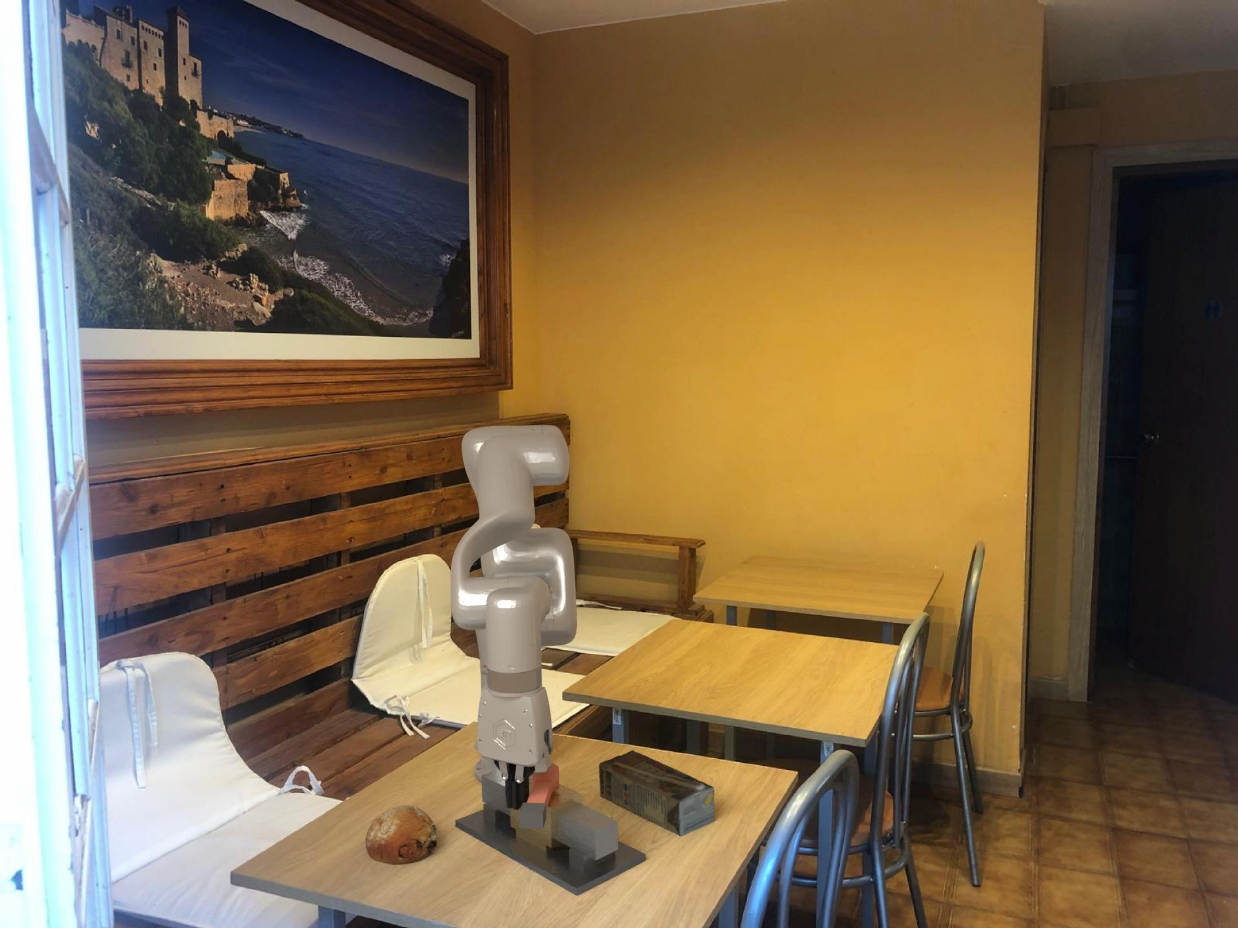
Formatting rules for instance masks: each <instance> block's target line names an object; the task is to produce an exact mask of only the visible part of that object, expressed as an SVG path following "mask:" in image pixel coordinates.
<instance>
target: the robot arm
mask: <svg viewBox="0 0 1238 928" xmlns="http://www.w3.org/2000/svg"><path fill="white" fill-rule="evenodd" d="M461 455H462V460H463V467H464V468H465V472H466V475H467V478H468V481H469V483H470V486H471V488H472V489H473V492H474V494H475V497H476V501H477V504H478V513H479V514H478V515H479V518H478V520H477V521H476V522H475V523H474V524H473V525H471V527H469V528H468V530H467V531H466V532H465V533H464V535H463V536H462V538H460V540H459V542H458V544H457V546H456V547H455V550H454V552H453V556H452V559H451V564H450V611H451V615H452V619H453V621H454V623H455V624H456V626H458V627H459V628H461V629H462V630H468V631H475V636H476V641H477V648H478V655H479V656H478V657H479V667H480V698H479V703H478V709H477V710H478V713H477V724H476V727H477V728H476V742H475V743H474V746H473V749H475V750H477V751H478V754H479V755H480V759H479V760H478V761H477V762H476V764H475V765H474V768H473V769H474V773H473V774H474V776H475V778H476V779H477V780H479V781H480V782H482V776H481V775H484V774H487V773H489V772H492V771H495V770H497V769H499V770H500V773H501V777H502V779H503V780H505V796H506V803H507V808H510V809H511V808H513V809H514V810H518V809H519V808H521V806H522V804H523V803H527V801H528V798H529V780H531V779H532V774H533V773H534V772H546V771H547V770H549V769H550V768H551V767H552V765H551V763H552V760H551V757H550V756H551V755H552V753H553V748H554V735H553V725H552V723H553V721H552V712H551V707H550V702H549V697H548V692H547V689H546V687H545V686H543V670H542V667H543V666H542V648H543V647H545V648H546V647H556V646H557V647H559V646H566V645H568V644H570V643H571V642H573V641H574V639H575V637H576V635H577V632H578V631H577V629H578V628H577V627H578V615H577V614H578V611H577V594H576V593H577V592H576V580H575V579H576V578H575V577H576V575H575V574H576V573H575V559H574V550H573V545H572V540H571V538H570V536H569V534H568V533H567V532H566V531H565V530H564V529H561V528H558V527H533V526H534V523H535V521H536V512H535V500H534V498H535V497H534V487H539V486H540V487H541V486H542V487H543V486H560V485H562V484H564V483H565V482H566V481H567V479H568V476H569V474H570V473H569V472H570V453H569V448H568V444H567V442H566V438H565V437H564V434H563V432H562V431H561V429H560V428H559V427H557V426H556V425H552V424H551V425H549V424H548V425H547V424H546V425H545V424H541V425H540V424H539V425H533V424H531V425H489V426H482V427H481V426H480V427H477V428H473V429H470V430H469V431H468V432H466V433H465V434H464V435H463V437H462V440H461ZM479 559H480V564H481V571H482V574H483V576H478V577H477V576H475V577H470V572H471V571H470V570H471V568H472V566H473V565H474V563H475V562H476V561H478V560H479Z"/></svg>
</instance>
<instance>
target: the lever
mask: <svg viewBox="0 0 1238 928" xmlns="http://www.w3.org/2000/svg"><path fill="white" fill-rule="evenodd" d="M551 765H552V767H551V768H550V769H549V770H547V771H546V772H534V773H533V774H532V790H531V793H530V796H529V798H528V801H527V803H523V804H522V806H521V809H520V811H519V828H526V829H543V828H544V825H545V822H546V809H547V806H548V803H549V800H550V797H551V794H552V792H553V791H556V790H557V789H558V788H559V784H560V766H559V765H557V764H555V763H552V762H551Z"/></svg>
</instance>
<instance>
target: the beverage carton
mask: <svg viewBox="0 0 1238 928" xmlns="http://www.w3.org/2000/svg"><path fill="white" fill-rule="evenodd" d="M598 774H599V775H598V776H599V795H600V797H601V798H603V799H605V800H606V801H609V802H611V803H613V804H615V805H617V806H618V807H621V808H623V809H625V810H627V811H629V812H630V813H633V814H634V815H636V816H639V818H640V817H641V818H642V819H644V820H647V822H651V824H654V825H656V826H658V827H660V828H662V829H665V830H666V831H669V832H671V833H672V834H675V835H677V836H679V837H683V836H686V835H687V834H690V833H691V832H694V831H696V830H699V829H701V828H703V827H704V826H707V825H710V824H711V823H714V821H715V812H716V809H715V788H714V786H712V785H710V784H708V783H706V782H704V781H701V780H699V779H697V778H695V777H693V776H691V775H689V774H687V773H685V772H682V771H680V770H678V769H676V768H674V767H671V766H670V765H667V764H664V763H663V762H660V761H658V760H656V759H654V758H651V757H649V756H648V755H645V754H643V753H641V752H637V751H635V750H629V751H628V752H625V753H622V754H621V755H619V754H618V755H616V756H614V757H612V758H609V759H607V760H604V761H601V762H599V765H598Z"/></svg>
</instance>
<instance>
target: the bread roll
mask: <svg viewBox="0 0 1238 928" xmlns="http://www.w3.org/2000/svg"><path fill="white" fill-rule="evenodd" d="M439 839H440V838H439V836H438V835H437V826H436V824H434V821H433V820H432V818H431V817H430V816H429V815H428V814H427V813H426V812H425V811H424V810H423V809H421V808H419V807H417V806H415V805H409V804H408V805H407V804H406V805H403V804H402V805H398V806H395V807H392V808H389V809H387V810H385V811H384V812H382V813H380V815H378V816H377V817H375V819H374V820H373V821H372V823H371V824H370V826H369V828H368V830H367V833H366V837H365V848H366V851H367V853H368V855H369V856H370V858H371V860H373V861H375V862H378V863H383V864H388V865H390V866H391V865H392V866H397V865H399V866H400V865H409V864H413V863H417V862H419V861H421V860H423V859H425V858H427V857H428V856H430V854H433V853H434V851H435V848H436V846H437V841H438V840H439Z"/></svg>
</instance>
